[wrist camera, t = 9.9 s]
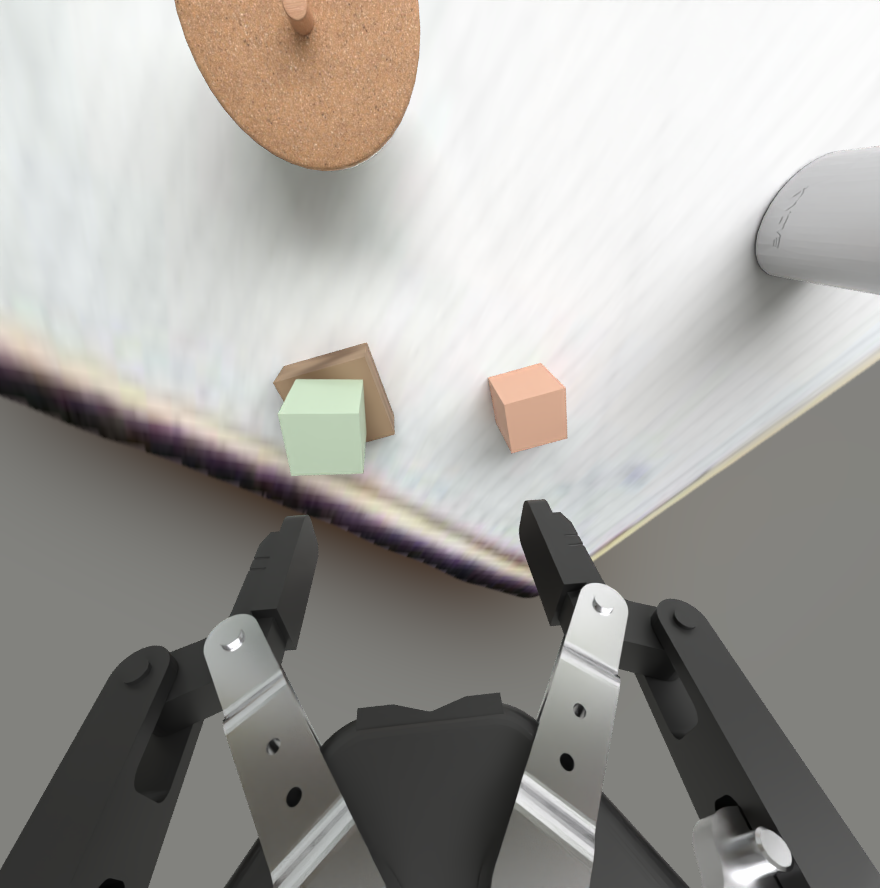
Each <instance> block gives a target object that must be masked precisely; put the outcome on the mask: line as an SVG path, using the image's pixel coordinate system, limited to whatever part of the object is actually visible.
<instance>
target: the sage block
mask: <svg viewBox="0 0 880 888" xmlns="http://www.w3.org/2000/svg"><path fill="white" fill-rule="evenodd" d="M278 417H279V422H280V426H281V431H282V435H283V440H284V444H285V449H286V453H287V458H288V462H289V467H290V471H291V476H300V475H332V474H363V471H364V458H365V446H366V418H365V403H364V387H363V380H353V379H296V380H295V382H294V384H293V386H292V388H291V390H290V391H289V393H288V395H287V397H286V399H285V401H284V403H283V405H282V407H281V409H280V411H279V413H278Z"/></svg>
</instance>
